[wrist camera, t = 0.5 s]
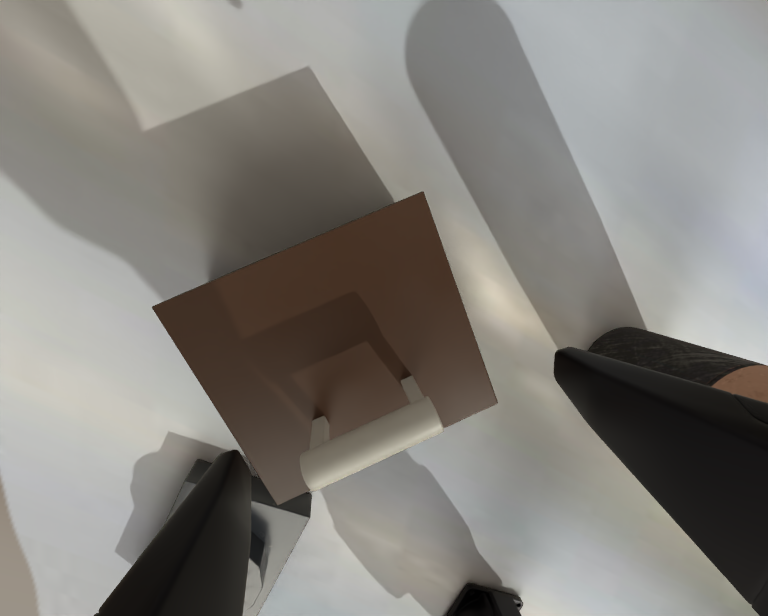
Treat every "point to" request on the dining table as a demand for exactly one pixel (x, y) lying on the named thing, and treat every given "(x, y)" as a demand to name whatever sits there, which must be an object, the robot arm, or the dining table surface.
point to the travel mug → (685, 361)
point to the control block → (262, 534)
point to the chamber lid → (335, 349)
